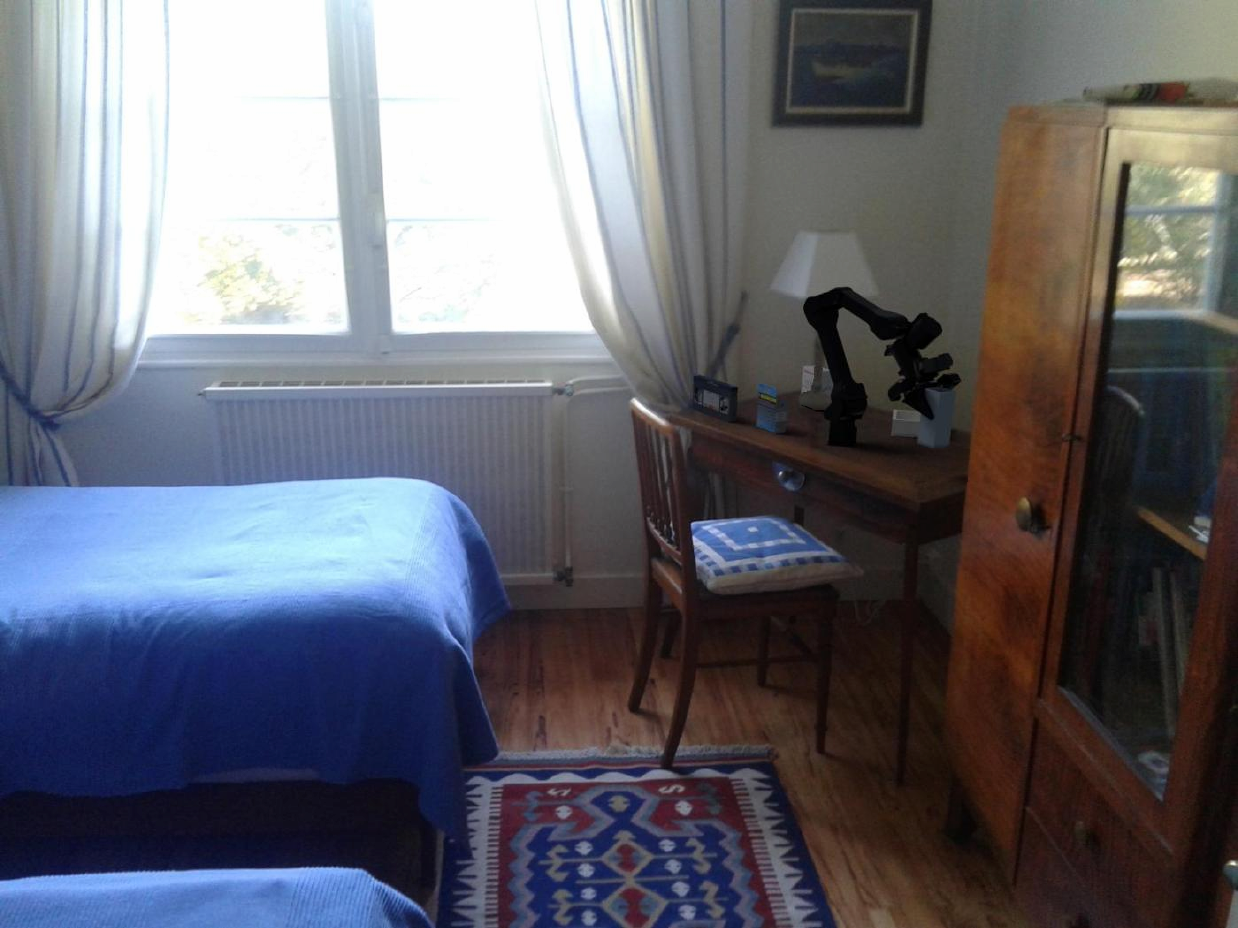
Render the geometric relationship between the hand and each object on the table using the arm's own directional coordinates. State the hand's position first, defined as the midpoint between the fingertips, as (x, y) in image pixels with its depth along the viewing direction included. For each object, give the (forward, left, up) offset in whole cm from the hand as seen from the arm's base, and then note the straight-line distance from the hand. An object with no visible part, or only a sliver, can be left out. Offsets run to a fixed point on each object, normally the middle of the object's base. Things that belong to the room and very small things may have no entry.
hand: (941, 418), depth 243 cm
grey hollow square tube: (-1, +1, -7) cm, 7 cm away
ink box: (-33, +60, -14) cm, 69 cm away
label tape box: (-42, +30, -14) cm, 53 cm away
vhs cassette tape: (-59, +40, -14) cm, 73 cm away
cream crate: (-5, +40, -14) cm, 42 cm away
